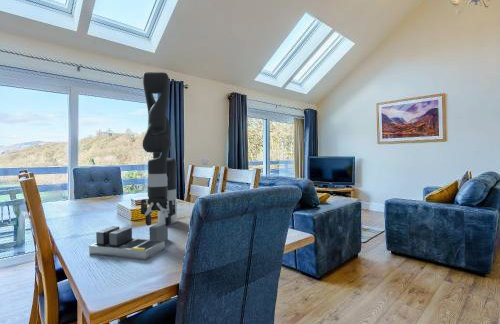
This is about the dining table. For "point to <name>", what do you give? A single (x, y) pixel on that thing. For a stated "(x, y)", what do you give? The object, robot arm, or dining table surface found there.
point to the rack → (124, 244)
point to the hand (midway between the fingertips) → (158, 225)
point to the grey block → (159, 232)
